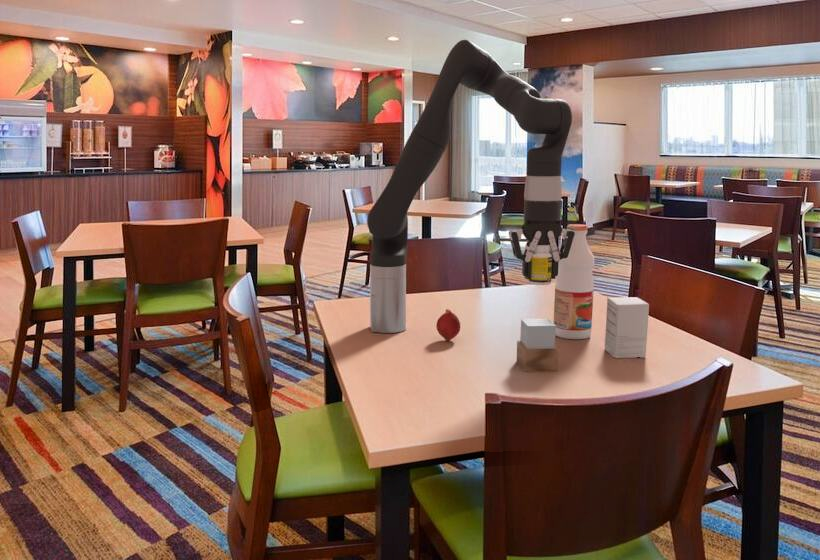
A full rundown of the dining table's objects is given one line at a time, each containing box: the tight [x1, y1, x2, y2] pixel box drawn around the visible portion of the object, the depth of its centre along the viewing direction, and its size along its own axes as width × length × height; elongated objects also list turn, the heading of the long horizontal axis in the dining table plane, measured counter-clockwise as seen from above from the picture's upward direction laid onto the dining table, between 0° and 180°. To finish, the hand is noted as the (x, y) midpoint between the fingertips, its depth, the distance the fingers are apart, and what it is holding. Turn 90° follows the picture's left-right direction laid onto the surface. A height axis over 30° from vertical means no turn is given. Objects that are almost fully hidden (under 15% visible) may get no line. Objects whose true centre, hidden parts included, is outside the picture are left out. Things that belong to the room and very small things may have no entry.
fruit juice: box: [553, 223, 596, 340], centre depth 167 cm, size 9×9×28 cm
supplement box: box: [604, 296, 650, 359], centre depth 153 cm, size 7×7×13 cm
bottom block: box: [516, 340, 559, 373], centre depth 145 cm, size 7×7×5 cm
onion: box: [435, 308, 461, 342], centre depth 164 cm, size 6×6×8 cm
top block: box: [519, 318, 556, 349], centre depth 144 cm, size 6×6×5 cm
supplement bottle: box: [528, 245, 552, 286], centre depth 141 cm, size 5×5×8 cm
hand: (540, 278), depth 142 cm, fingers closed on supplement bottle, 4 cm apart
